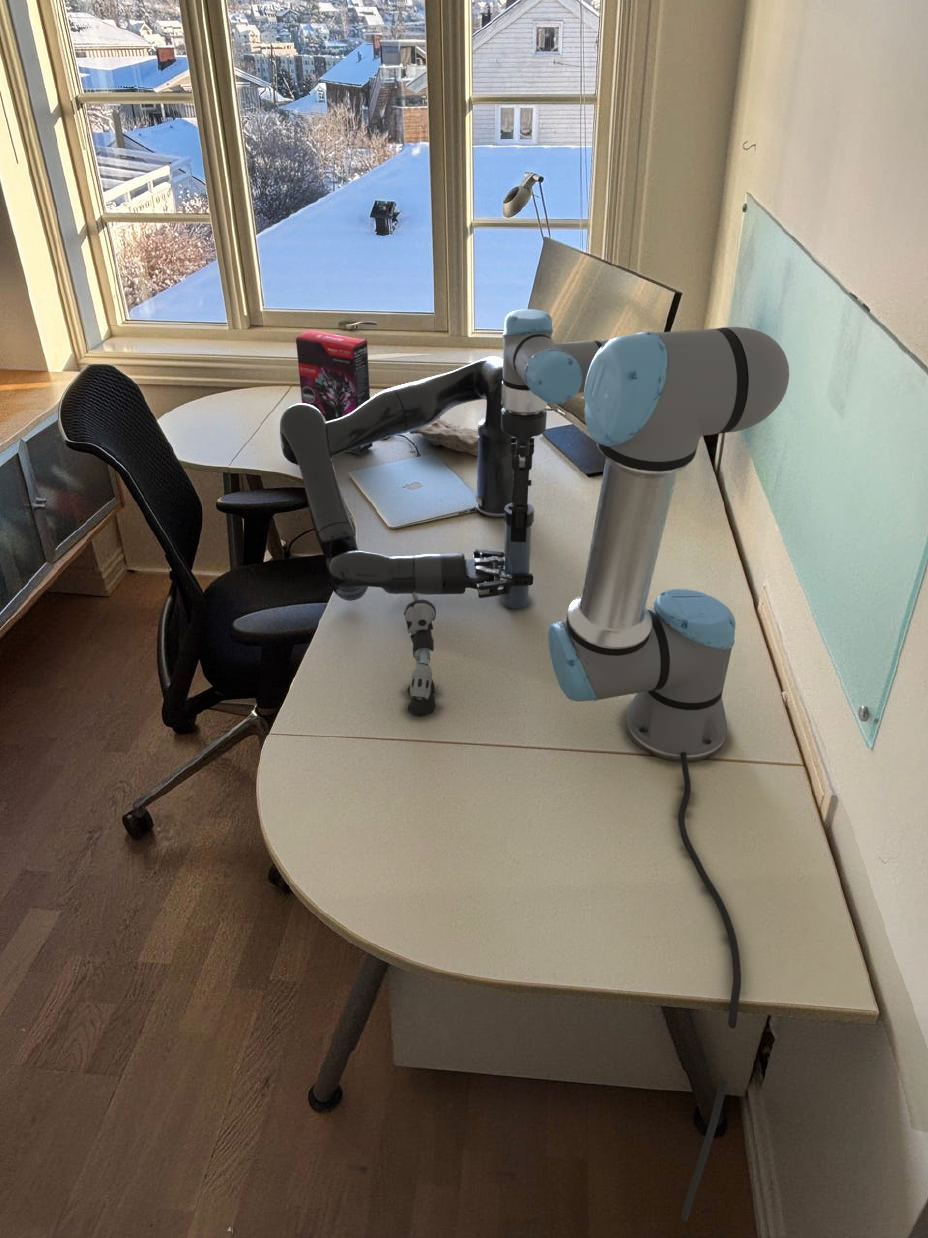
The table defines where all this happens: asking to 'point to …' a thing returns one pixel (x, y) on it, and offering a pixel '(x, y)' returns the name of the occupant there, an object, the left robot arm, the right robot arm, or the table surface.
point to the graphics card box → (333, 374)
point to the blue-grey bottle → (517, 567)
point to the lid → (509, 514)
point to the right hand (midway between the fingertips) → (518, 530)
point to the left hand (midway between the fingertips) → (530, 571)
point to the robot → (421, 655)
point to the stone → (450, 436)
